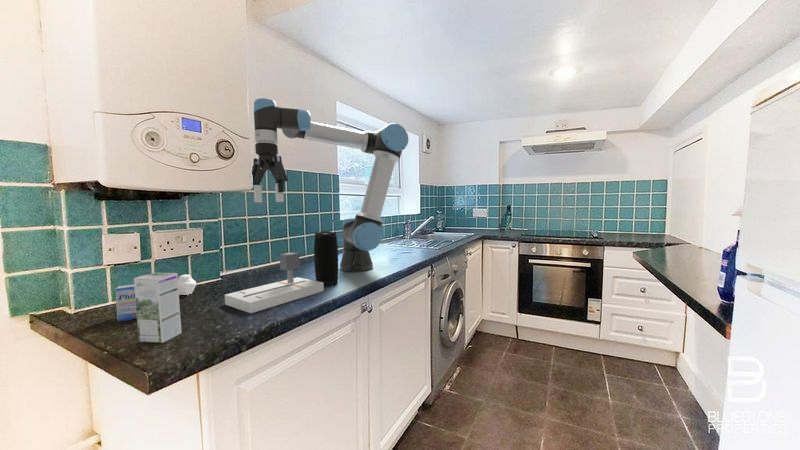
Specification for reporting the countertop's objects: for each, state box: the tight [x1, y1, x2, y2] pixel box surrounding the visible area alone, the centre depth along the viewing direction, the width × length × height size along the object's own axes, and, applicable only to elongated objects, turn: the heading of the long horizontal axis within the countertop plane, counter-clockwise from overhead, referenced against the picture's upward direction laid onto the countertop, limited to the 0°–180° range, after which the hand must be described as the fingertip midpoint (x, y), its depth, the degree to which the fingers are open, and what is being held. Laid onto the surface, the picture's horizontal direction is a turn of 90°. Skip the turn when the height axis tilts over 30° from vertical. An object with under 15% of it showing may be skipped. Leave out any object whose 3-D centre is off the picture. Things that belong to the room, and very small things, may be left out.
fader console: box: [224, 276, 325, 314], centre depth 100 cm, size 26×14×3 cm, turn 145°
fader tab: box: [279, 251, 301, 284], centre depth 103 cm, size 5×4×10 cm
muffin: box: [178, 273, 197, 296], centre depth 104 cm, size 6×6×7 cm
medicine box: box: [114, 283, 137, 322], centre depth 84 cm, size 8×4×9 cm, turn 123°
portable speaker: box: [313, 230, 339, 288], centre depth 115 cm, size 9×9×20 cm
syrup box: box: [133, 272, 182, 344], centre depth 69 cm, size 6×6×14 cm
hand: (268, 202), depth 115 cm, fingers open, 13 cm apart
